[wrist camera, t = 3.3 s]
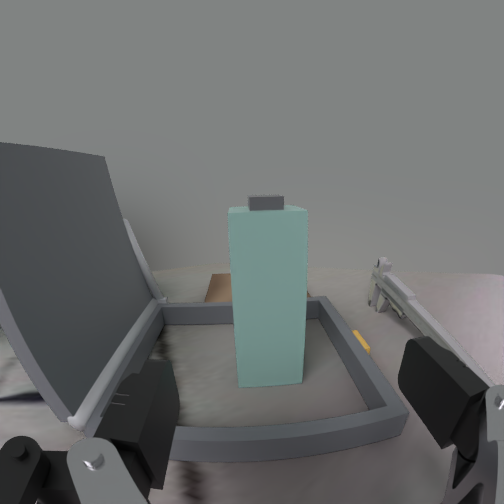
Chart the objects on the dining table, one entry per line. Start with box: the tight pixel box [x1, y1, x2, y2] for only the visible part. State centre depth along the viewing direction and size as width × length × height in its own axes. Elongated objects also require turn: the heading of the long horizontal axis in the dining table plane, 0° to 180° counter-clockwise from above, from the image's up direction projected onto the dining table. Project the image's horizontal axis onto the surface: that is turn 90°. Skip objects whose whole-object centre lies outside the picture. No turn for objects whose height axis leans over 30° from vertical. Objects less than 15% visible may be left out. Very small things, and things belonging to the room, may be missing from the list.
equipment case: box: [0, 142, 409, 462], centre depth 19 cm, size 24×19×18 cm
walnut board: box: [204, 273, 311, 303], centre depth 36 cm, size 12×12×1 cm
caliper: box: [369, 257, 495, 387], centre depth 21 cm, size 20×1×6 cm, turn 8°
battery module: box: [228, 195, 308, 388], centre depth 19 cm, size 4×4×13 cm
